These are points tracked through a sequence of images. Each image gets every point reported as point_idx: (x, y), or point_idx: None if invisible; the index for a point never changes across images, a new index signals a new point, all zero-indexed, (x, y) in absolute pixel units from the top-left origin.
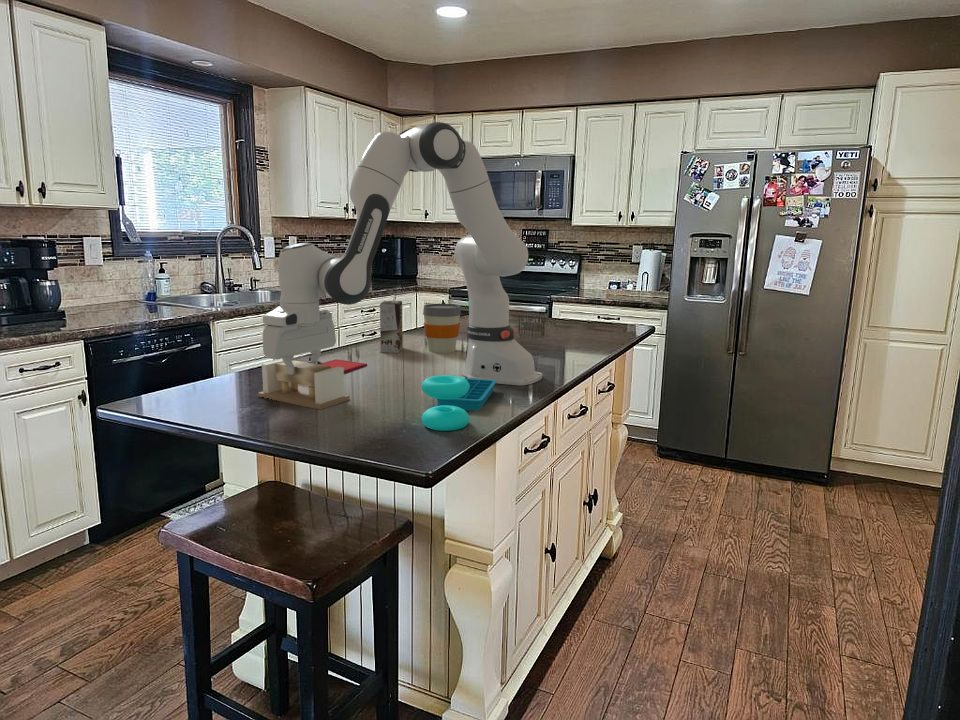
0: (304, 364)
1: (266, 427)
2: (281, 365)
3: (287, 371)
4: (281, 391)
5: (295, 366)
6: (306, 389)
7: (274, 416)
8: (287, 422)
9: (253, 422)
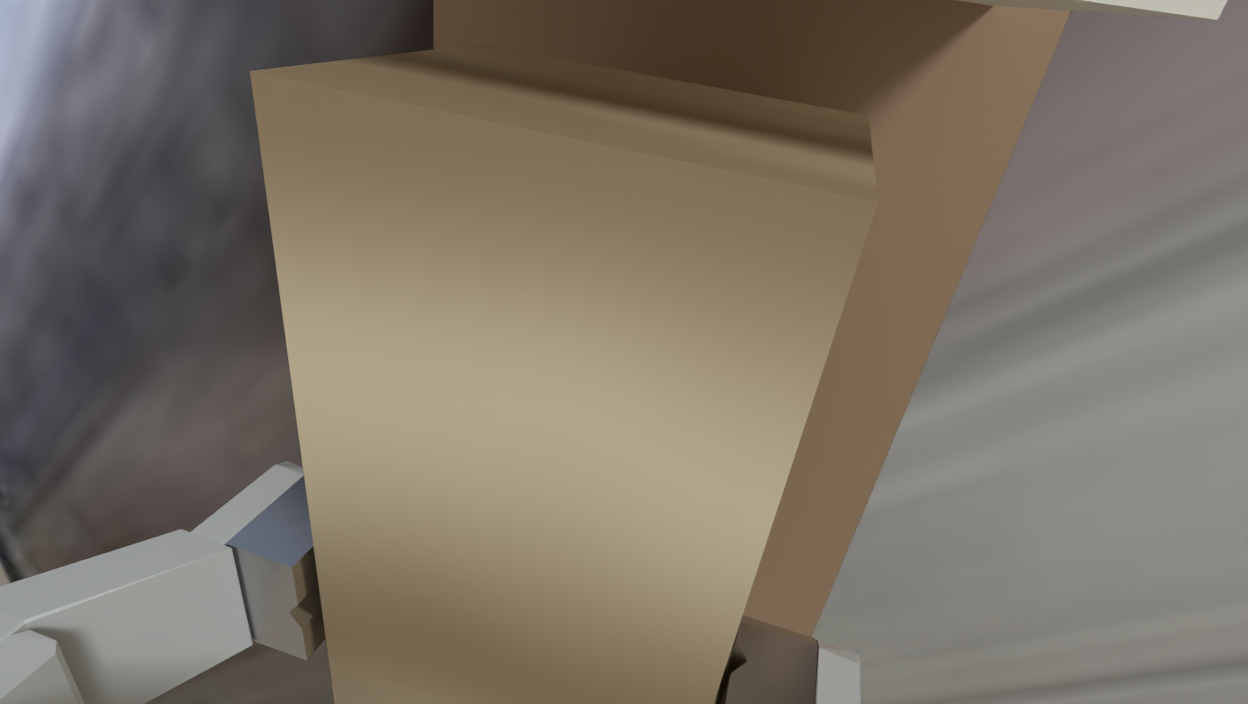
0: (542, 692)
1: (67, 449)
2: (295, 290)
3: (263, 478)
4: (639, 55)
5: (286, 644)
6: (855, 313)
7: (188, 391)
8: (182, 511)
9: (45, 335)
